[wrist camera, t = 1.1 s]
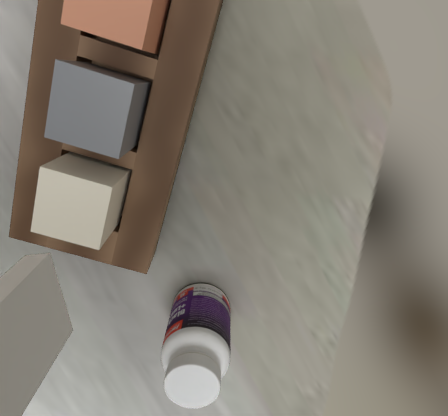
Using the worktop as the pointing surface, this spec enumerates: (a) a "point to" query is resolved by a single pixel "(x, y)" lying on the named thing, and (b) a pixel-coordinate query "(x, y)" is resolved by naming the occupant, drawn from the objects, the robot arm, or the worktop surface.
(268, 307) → the worktop surface
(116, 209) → the cream cube
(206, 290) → the pill bottle
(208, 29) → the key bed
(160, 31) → the salmon orange cube
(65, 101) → the slate key
